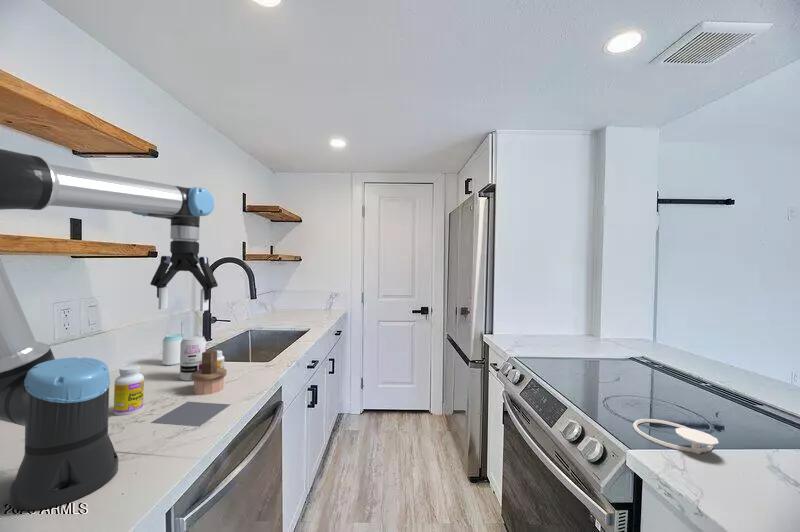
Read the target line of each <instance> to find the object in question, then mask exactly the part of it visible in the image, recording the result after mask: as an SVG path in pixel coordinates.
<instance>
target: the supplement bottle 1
mask: <svg viewBox="0 0 800 532" xmlns="http://www.w3.org/2000/svg"><path fill="white" fill-rule="evenodd" d="M140 372H141V365H139V364H129V365H125V366H121V367H119V372H118V373H119V374H120V375H119V376H117V377H116V378H115V380H114V396H113V414H114V416H115V415H116V416H128V415H133V414H136V413H137V412H140V411H142V410H143V408H144V395H145V394H144V391H145V389H144V388H145V387H144V386H145V385H144V384H145V376H144V375H143V374H142V373H140Z"/></svg>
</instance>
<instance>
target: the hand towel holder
mask: <svg viewBox="0 0 800 532" xmlns="http://www.w3.org/2000/svg"><path fill="white" fill-rule="evenodd" d="M643 423H653V424H660V425H666V426H671V427H675V433H676V434H677V435H678V436H679V437H681V438H683V439H684V440H686V441H688V442H691V446H690V447H689V446H682V445H678V444H673V443H670V442H666V441H663V440H660V439H658V438H655V437H652V436H650V435H649V434H646V433H645V432H643V431H641V430H640V429H639V428H638V426H639V424H643ZM632 427H633V429H634V431H635V432H636V433H638V435H639V436H641V437H643V438H644V439H646V440H648V441H651V442H653V443H655V444H657V445H659V446H660V445H661V446H663V447H666V448H669V449H673V450H675V451H676V450H677V451H682V452H686V453H692V454H696V455H700V453H701V452H704V453H708V452H711V451H712V450H713V448H714V446H715V445H718V444H719V440H718V438H717V437H715V436H713V435H711V434H710V433H707V432H704V431H701V430H697V429H694V428H690V427H688V426H685V425H682V424H679V423H675V422H672V421H667V420H663V419H656V418H655V419H654V418H640V419H636V420H635V421H634V422H633V423H632ZM701 445H702V446H704V447H701ZM707 451H708V452H707ZM701 454H702V453H701Z"/></svg>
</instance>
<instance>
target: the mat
mask: <svg viewBox="0 0 800 532" xmlns="http://www.w3.org/2000/svg"><path fill="white" fill-rule="evenodd" d="M229 406H231V403H229V404H228V403H216V402H201V401H199V402H198V401H186V402H184V403H182V404H181V405H179V406H178V407H176V408H174V409H172V410H171V411H168V412H166V413H165V414H163V415H162V416H160V417H157V418H156V419H154V420H153V421H151V422H150V424H160V425H174V426H175V425H176V426H189V427H199V428H200V427H201V426H202V425H204V424H205V423H207V422H208V421H210V420H211V419H212V418H214V417H215V416H217V415H218V414H220V413H221V412H223V411H224V410H225V409H227V408H228V407H229Z"/></svg>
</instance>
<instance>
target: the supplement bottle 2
mask: <svg viewBox="0 0 800 532" xmlns="http://www.w3.org/2000/svg"><path fill="white" fill-rule="evenodd" d="M216 351H217V368H224V369H225V356H224V355H223V350H216Z"/></svg>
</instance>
